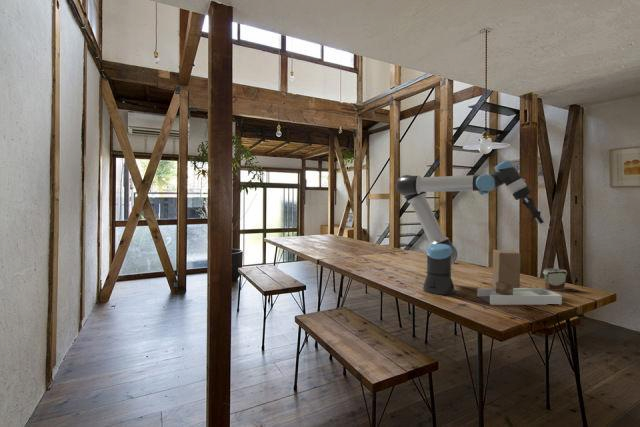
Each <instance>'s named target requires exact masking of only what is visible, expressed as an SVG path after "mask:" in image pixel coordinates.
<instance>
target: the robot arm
mask: <svg viewBox="0 0 640 427" xmlns="http://www.w3.org/2000/svg"><path fill="white" fill-rule="evenodd" d="M504 184H505V187H506V188H507V189H508V191H509V192H510V193H511V194H512V196H513V198H514V199H515V200H516V201H518V200H520V199H522V204H523V205H524V206H525V207H526V209H528V210H529V212H530V213H531V214H532V219H535V221H536V222H537V224H539V226H540V227H541V229H542V231H544V232H545V231H546V230H548V229H550V225H549V224H548V223H547V222H546V220H545V218H544V217H543V216H542V212H541V210H540V211H538V208H536V204H535V203H534V202H533V201H534V200H533V199H532V198H531V197H529V196H528V195H530V194H531V193H532V190H531V189H530V187H529V186H527V183H526V179H523V178H522V176H521V175H520V173H519V171H518V170H517V169H516V167H515V165H514V164H513V163H512V162H511V161H510V160H507V159H506V160H504V161H501V162H500V163H499V164H497V165H495V166H494V171H493V172H491V173H490V174H487V173H484V174H480V175H479V174H477V175H476V174H475V175H473V174H471V175H451V176H449V175H448V176H446V175H445V176H426V177H425V176H423V177H422V176H420V175H411V174H404V175H402V176H400V177H399V178H398V179H397V181H396V183H395V188H396V191H397V192H398V193H399V195H401V196H403V197H404V198H405V200H406V202H407V203H408V204H410V205H411V207H412V209H413V210H414V212H415V214H416V216H417V219H418V221H419V222H420V225H421V228H422V229H423V231H424V234H425V235H426V237H427V240H428V241H429V242H428V243H429V244H428V246H427V250H426V277H425V279H424V281H423V284H422V289H423V290H424V292H426V293H430V294H433V295H443V296H444V295H445V296H446V295H452V294H454V293H455V285H454V281H453V278H452V264H454V263H455V262H456V260H457V257H458V250H457V249H456V247H455V246H454V244H452V241H451V240H450V238H449V237H447V236H445V234H444V232H443V230H442V229H441V226H440V224H439V221H438V220H437V218H436V216H435V214H434V212H433V210H432V208H431V205H430V204H429V202H428V199H427V194H428V193H429V192H430V193H433V192H436V193H437V192H478V193H479V195H480V196H484V195H486V194H488V193H489V192H492V191H493V190H496V189H498V188H499V187H501V186H502V185H504Z"/></svg>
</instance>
